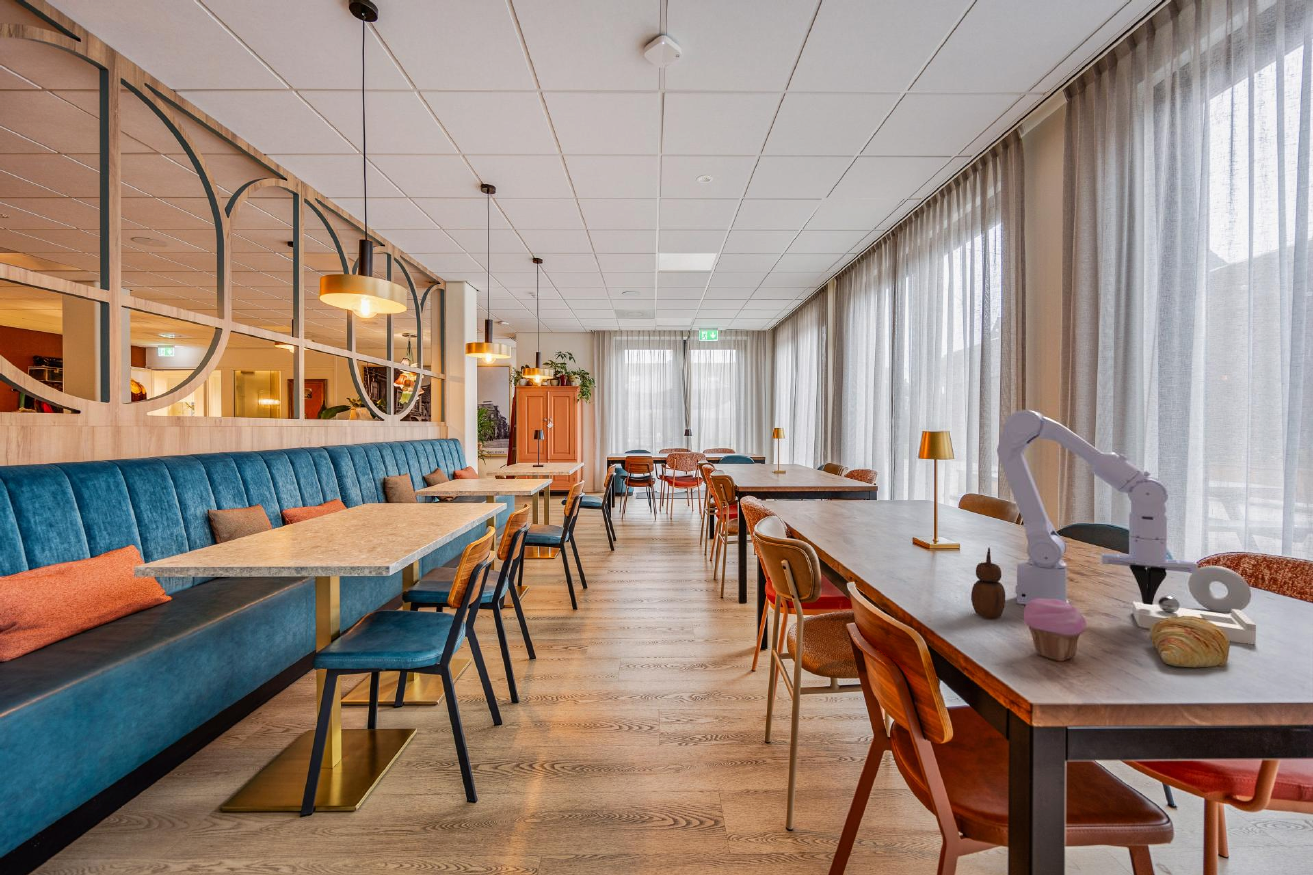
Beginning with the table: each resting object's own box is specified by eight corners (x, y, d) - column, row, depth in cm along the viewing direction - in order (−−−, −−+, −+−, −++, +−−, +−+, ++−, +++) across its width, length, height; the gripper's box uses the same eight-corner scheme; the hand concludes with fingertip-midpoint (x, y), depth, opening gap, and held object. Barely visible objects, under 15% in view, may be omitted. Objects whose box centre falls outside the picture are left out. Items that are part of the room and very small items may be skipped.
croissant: (1193, 697, 87) (1227, 662, 84) (1123, 650, 94) (1151, 616, 91) (1225, 662, 99) (1256, 630, 96) (1161, 622, 106) (1187, 591, 103)
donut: (1254, 618, 113) (1255, 570, 113) (1245, 620, 112) (1245, 572, 111) (1193, 604, 122) (1194, 560, 122) (1184, 606, 121) (1184, 561, 121)
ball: (1159, 612, 109) (1159, 596, 109) (1156, 608, 112) (1156, 593, 112) (1181, 615, 107) (1181, 599, 107) (1178, 611, 110) (1178, 595, 110)
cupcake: (1068, 671, 89) (1069, 610, 89) (1012, 652, 97) (1013, 596, 96) (1095, 659, 93) (1095, 601, 93) (1039, 642, 101) (1040, 589, 101)
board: (1139, 626, 109) (1139, 608, 109) (1132, 612, 117) (1132, 595, 117) (1255, 644, 99) (1255, 624, 99) (1239, 628, 107) (1240, 609, 107)
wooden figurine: (998, 623, 111) (998, 550, 110) (967, 616, 115) (967, 545, 115) (1009, 616, 115) (1009, 545, 115) (979, 609, 119) (979, 541, 119)
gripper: (1103, 536, 112) (1103, 601, 113) (1201, 544, 104) (1201, 615, 104) (1100, 531, 118) (1100, 593, 118) (1193, 538, 110) (1193, 605, 110)
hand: (1147, 603), depth 112 cm, fingers closed
